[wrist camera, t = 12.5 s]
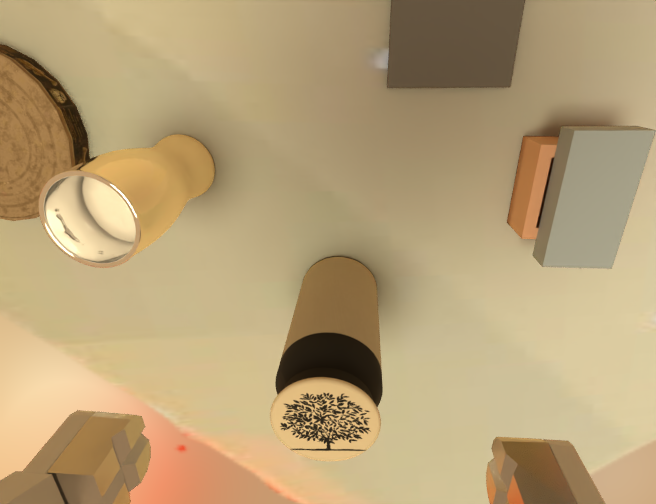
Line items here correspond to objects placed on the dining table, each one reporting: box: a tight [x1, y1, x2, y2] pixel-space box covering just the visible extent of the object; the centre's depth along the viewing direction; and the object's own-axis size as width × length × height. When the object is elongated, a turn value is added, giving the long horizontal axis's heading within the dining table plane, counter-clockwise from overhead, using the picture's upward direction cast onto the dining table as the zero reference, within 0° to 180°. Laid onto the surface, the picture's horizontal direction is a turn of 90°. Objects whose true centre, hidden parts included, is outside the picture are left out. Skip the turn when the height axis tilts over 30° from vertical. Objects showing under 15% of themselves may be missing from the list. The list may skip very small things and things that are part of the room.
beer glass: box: [39, 134, 215, 268], centre depth 32 cm, size 7×7×15 cm
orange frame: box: [507, 136, 559, 239], centre depth 35 cm, size 8×8×4 cm
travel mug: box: [270, 257, 382, 461], centre depth 35 cm, size 8×8×18 cm
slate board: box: [533, 126, 656, 269], centre depth 32 cm, size 11×6×2 cm, turn 1°
